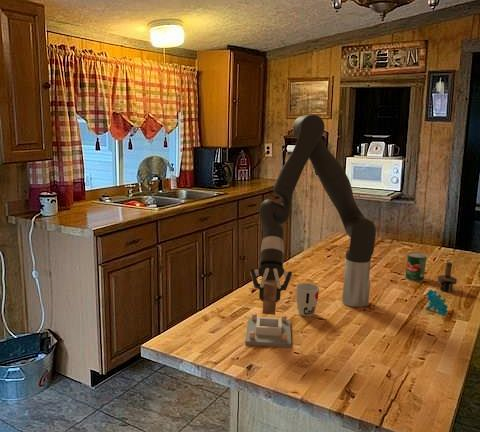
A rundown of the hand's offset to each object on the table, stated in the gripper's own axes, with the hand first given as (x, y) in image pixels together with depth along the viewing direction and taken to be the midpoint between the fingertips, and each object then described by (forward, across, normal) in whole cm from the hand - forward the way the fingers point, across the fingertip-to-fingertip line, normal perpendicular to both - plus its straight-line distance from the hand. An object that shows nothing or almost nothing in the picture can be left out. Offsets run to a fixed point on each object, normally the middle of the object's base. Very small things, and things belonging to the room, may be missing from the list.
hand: (269, 300), depth 156 cm
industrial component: (-30, +73, +46) cm, 91 cm away
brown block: (+2, 0, +5) cm, 5 cm away
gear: (-12, +62, +28) cm, 69 cm away
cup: (-6, +13, +23) cm, 27 cm away
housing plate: (+7, 0, +10) cm, 12 cm away
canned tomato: (-38, +64, +55) cm, 92 cm away
